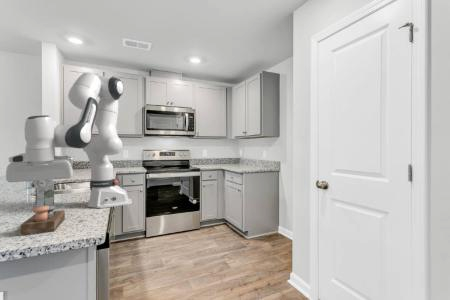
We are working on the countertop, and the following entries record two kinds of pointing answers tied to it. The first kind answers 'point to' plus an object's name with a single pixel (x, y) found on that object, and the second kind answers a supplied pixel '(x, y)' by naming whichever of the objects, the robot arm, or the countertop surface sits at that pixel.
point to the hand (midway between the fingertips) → (42, 191)
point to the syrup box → (45, 195)
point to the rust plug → (41, 213)
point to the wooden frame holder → (43, 224)
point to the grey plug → (51, 210)
